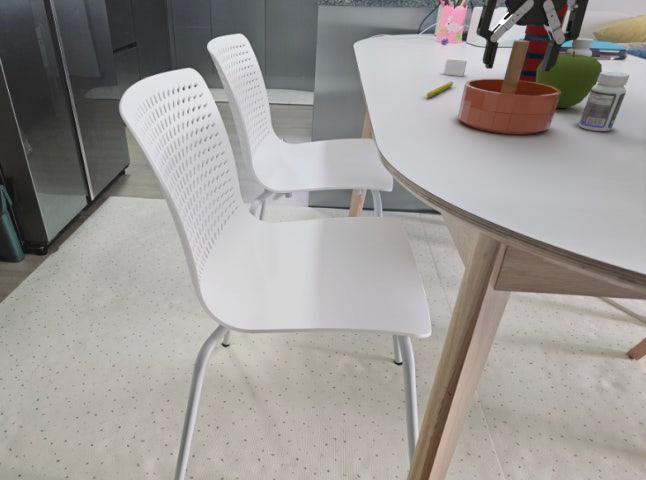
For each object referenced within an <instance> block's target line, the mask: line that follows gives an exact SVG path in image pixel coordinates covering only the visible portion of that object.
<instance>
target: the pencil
mask: <svg viewBox="0 0 646 480" xmlns="http://www.w3.org/2000/svg"><path fill="white" fill-rule="evenodd" d="M453 85H454V83H453V81H449V82H447V83H445V84H442V85H441V86H438V87H437V88H434V89H432V90H430V91H429V92H427V93H426V97H427V98H432V97H434V96H435V95H438V94H439V93H441V92H443V91H445V90H447V89H449V88H451V87H452V86H453Z"/></svg>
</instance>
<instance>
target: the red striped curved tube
mask: <svg viewBox="0 0 646 480" xmlns="http://www.w3.org/2000/svg"><path fill="white" fill-rule="evenodd" d="M568 11H569V10H568V4H567V3H566V4H565V5H564V6H563V7H562V8H561V9H560V10H559V11H558V12H557V13H556V14H557V16H558V19H559V21H560V24H561V29H562V30H563V27H564V23H565V20H566V17H567V13H568ZM522 40H524V41H529V45H528V49H527V52H526V56H525V60H524V63H523V67H522V70H521V74H520V78H519V80H521V81H529V82H536V75H537V68H538V67H539V65H540V64H541V62H542V61H543V59H544V55H545V52H546V49H547V45H548V43H551V39H550V37H549V35H548V32H547V30H546V29H545V27H544V25H542V26H533V25H527V26H525V30H524V38H523V39H522Z"/></svg>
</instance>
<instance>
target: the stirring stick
mask: <svg viewBox="0 0 646 480" xmlns="http://www.w3.org/2000/svg"><path fill="white" fill-rule="evenodd" d="M528 45H529V41H524V40H523V39H515V40H513V43H512V46H511V50H510V54H509V58H508V63H507V66H506V69H505V74H504V76H503V79H504V81H503V85H502V88H501V92H500V93H506V94H515V92H516V88H517V85H518V81H519V78H520V74H521V70H522V67H523V63H524V60H525V56H526V52H527V49H528Z"/></svg>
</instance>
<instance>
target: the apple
mask: <svg viewBox="0 0 646 480" xmlns="http://www.w3.org/2000/svg"><path fill="white" fill-rule="evenodd" d="M542 62H543V61H542ZM542 62H541V64H540V65H539V67H538V68H537V75H536V83H541V84H546V85H550V86H553V87H556V88H558V89H560V90H561V94H560V97H559V100H558V103H557V106H556V109H569V108H571V107H574V106H575V105H578V104H581V103H582V102H583V101H584V99H585V98H586V97H587V96H589V95H590V92H591V89H592V87H593V86H594V85H597V84H598V82H597V81H598V80H597V79H598V77H599V74H600V73H601V72H603V67H602V63H601V62H600V61H599V60H598V59H597V58H596V57H593V56H591V57H589V56H584V55H575V51H573V54H565V53H559V55H558V58H557V61H556V64H555V66H554V67H551V68H550V70H549V71H543V70H541V65H542Z"/></svg>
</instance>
